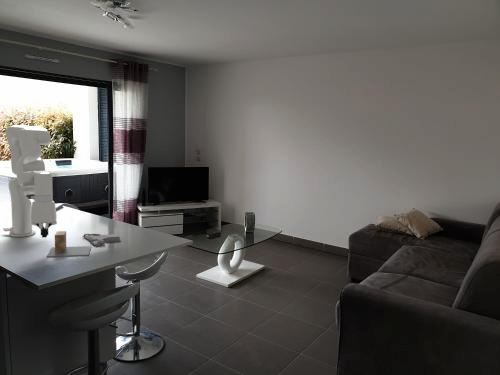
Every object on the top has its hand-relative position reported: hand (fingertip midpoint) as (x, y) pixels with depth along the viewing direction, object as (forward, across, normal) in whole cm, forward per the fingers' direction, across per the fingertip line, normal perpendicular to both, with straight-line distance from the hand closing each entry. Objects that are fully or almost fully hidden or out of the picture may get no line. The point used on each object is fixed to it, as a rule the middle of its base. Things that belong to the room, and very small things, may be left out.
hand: (44, 236), depth 182 cm
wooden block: (+8, +7, +1) cm, 10 cm away
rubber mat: (+8, +11, 0) cm, 14 cm away
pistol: (+9, +25, +20) cm, 33 cm away
